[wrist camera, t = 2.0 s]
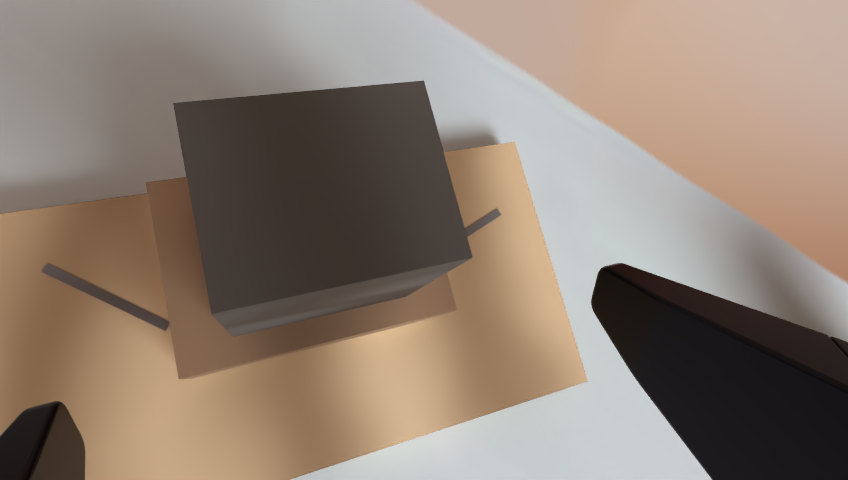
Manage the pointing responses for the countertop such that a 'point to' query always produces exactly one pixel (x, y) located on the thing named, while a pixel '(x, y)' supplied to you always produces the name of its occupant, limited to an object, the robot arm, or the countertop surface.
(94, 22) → the countertop surface
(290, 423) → the pine board
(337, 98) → the sanding block
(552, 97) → the countertop surface
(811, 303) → the countertop surface
